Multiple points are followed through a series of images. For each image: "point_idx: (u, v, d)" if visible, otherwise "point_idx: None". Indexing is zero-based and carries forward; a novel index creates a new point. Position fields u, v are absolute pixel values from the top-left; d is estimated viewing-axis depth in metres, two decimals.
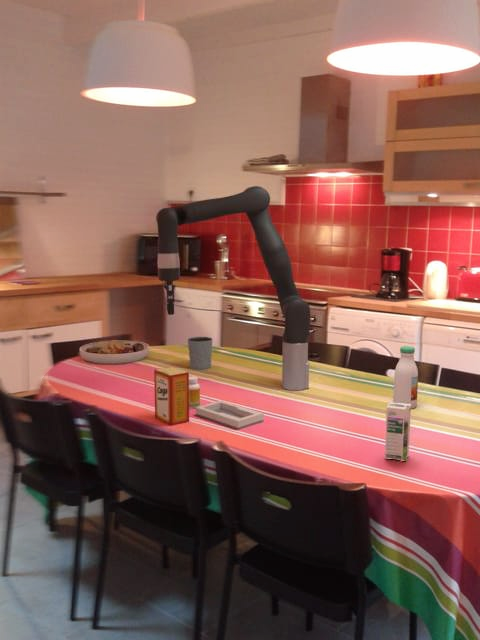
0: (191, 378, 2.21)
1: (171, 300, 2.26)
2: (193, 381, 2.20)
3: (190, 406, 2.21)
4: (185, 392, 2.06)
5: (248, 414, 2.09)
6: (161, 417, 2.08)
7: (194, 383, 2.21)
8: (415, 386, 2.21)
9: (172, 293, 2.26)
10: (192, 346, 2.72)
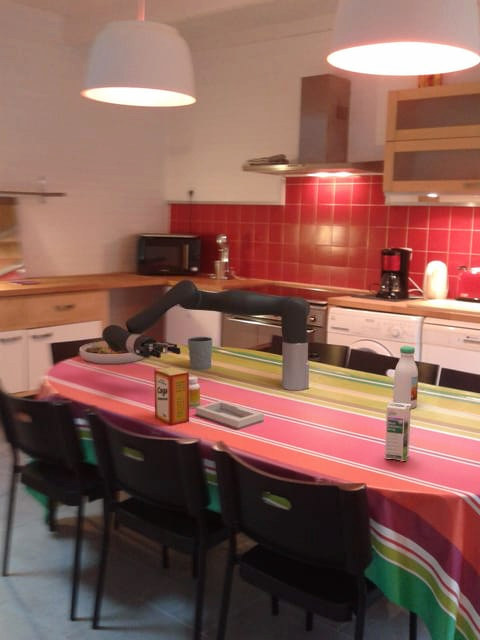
0: (191, 378, 2.21)
1: (144, 352, 2.27)
2: (193, 381, 2.20)
3: (190, 406, 2.21)
4: (186, 392, 2.06)
5: (248, 414, 2.09)
6: (161, 417, 2.08)
7: (194, 383, 2.21)
8: (415, 386, 2.21)
9: (140, 350, 2.29)
10: (192, 346, 2.72)
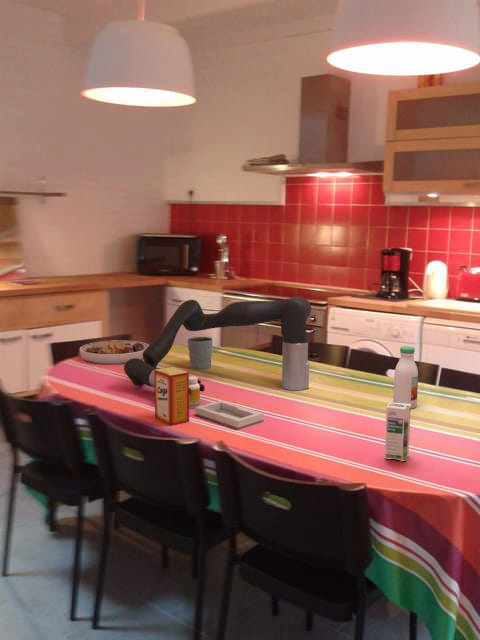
0: (191, 378, 2.21)
1: None
2: (193, 381, 2.20)
3: (190, 406, 2.21)
4: (186, 392, 2.06)
5: (248, 414, 2.09)
6: (161, 417, 2.08)
7: (194, 383, 2.21)
8: (415, 386, 2.21)
9: None
10: (192, 346, 2.72)
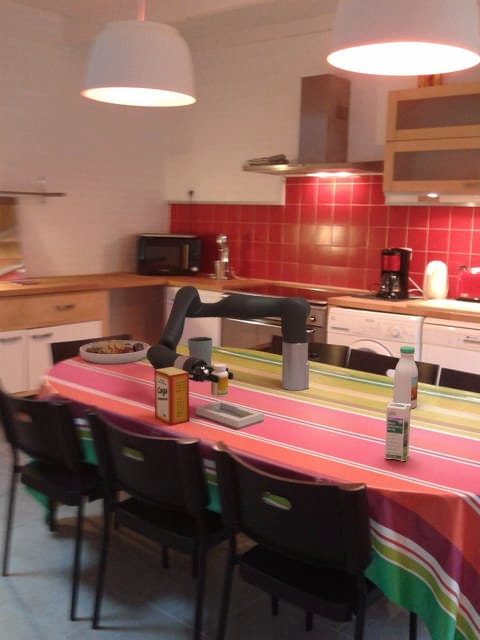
0: (219, 365, 2.10)
1: (200, 377, 2.10)
2: (221, 368, 2.10)
3: (218, 395, 2.10)
4: (186, 392, 2.06)
5: (248, 414, 2.09)
6: (161, 417, 2.08)
7: (222, 371, 2.10)
8: (415, 386, 2.21)
9: (194, 374, 2.11)
10: (192, 346, 2.72)
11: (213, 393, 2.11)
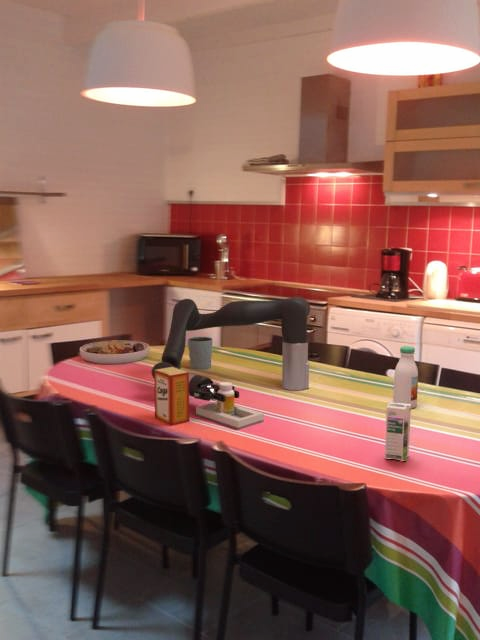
0: (225, 384, 2.09)
1: (206, 396, 2.09)
2: (228, 387, 2.09)
3: None
4: (186, 392, 2.06)
5: (248, 414, 2.09)
6: (161, 417, 2.08)
7: (229, 389, 2.09)
8: (415, 386, 2.21)
9: (200, 393, 2.10)
10: (192, 346, 2.72)
11: (219, 412, 2.10)
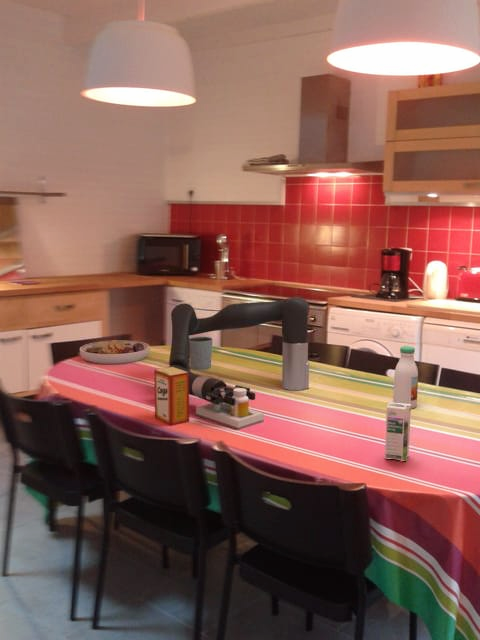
0: (239, 390, 2.05)
1: (216, 399, 2.04)
2: (242, 393, 2.04)
3: None
4: (186, 392, 2.06)
5: None
6: (161, 417, 2.08)
7: (243, 395, 2.05)
8: (415, 386, 2.21)
9: (211, 396, 2.05)
10: (192, 346, 2.72)
11: None
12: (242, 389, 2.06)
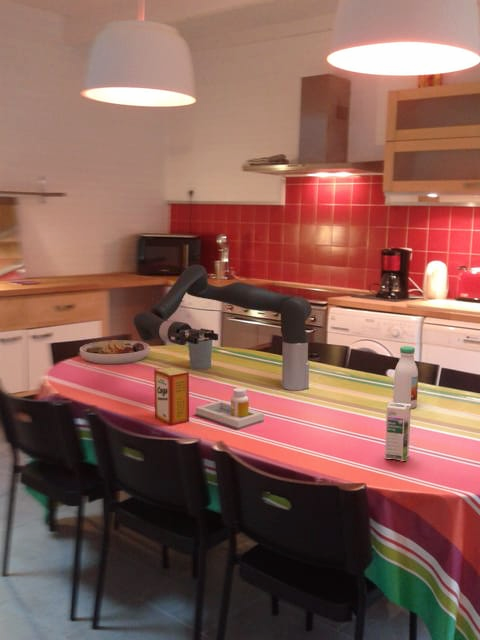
0: (239, 390, 2.05)
1: (180, 339, 2.13)
2: (242, 393, 2.04)
3: None
4: (186, 392, 2.06)
5: None
6: (161, 417, 2.08)
7: (243, 395, 2.05)
8: (415, 386, 2.21)
9: (175, 336, 2.15)
10: (192, 346, 2.72)
11: None
12: (242, 389, 2.06)
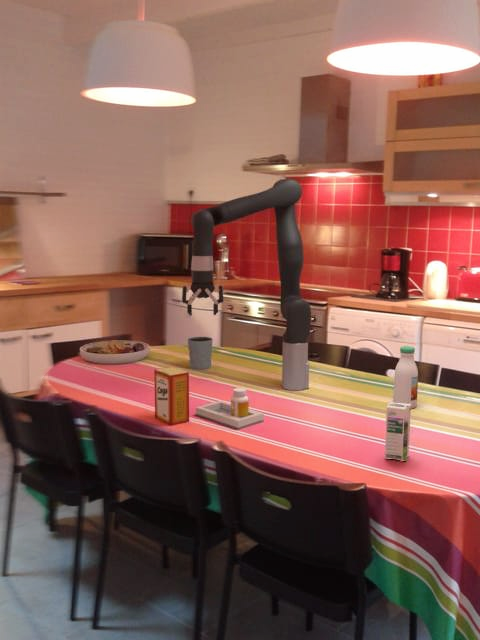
0: (239, 390, 2.05)
1: None
2: (242, 393, 2.04)
3: None
4: (186, 392, 2.06)
5: None
6: (161, 417, 2.08)
7: (243, 395, 2.05)
8: (415, 386, 2.21)
9: (182, 294, 2.32)
10: (192, 346, 2.72)
11: None
12: (242, 389, 2.06)
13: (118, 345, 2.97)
